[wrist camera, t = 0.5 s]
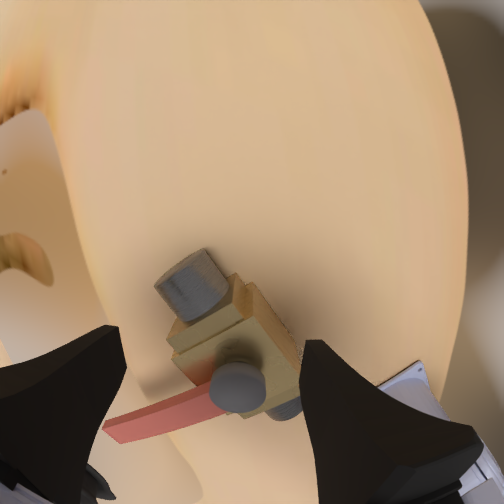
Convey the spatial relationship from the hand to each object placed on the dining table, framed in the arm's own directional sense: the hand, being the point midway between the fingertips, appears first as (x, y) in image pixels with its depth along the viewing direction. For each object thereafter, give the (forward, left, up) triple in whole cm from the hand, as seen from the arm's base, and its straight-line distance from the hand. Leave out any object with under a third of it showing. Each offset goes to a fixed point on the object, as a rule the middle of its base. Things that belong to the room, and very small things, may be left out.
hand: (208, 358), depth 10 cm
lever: (-5, +7, -4) cm, 10 cm away
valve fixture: (-5, +2, -10) cm, 11 cm away
